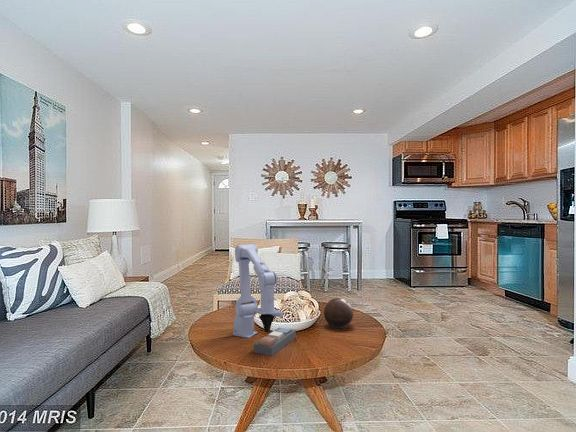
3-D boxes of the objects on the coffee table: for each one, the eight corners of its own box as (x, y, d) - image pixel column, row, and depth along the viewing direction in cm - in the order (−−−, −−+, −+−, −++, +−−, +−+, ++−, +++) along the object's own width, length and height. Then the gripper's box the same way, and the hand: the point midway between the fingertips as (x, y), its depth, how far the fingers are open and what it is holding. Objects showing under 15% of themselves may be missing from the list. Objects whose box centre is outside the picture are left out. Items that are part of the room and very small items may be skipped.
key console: (253, 352, 148) (253, 344, 148) (279, 334, 169) (279, 327, 169) (271, 356, 144) (271, 347, 144) (295, 337, 165) (295, 330, 165)
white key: (268, 340, 155) (268, 334, 155) (273, 336, 160) (273, 331, 160) (278, 341, 153) (278, 336, 153) (283, 338, 158) (283, 332, 157)
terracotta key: (259, 346, 148) (259, 340, 148) (265, 342, 153) (265, 336, 152) (269, 348, 146) (269, 342, 146) (275, 344, 150) (275, 338, 150)
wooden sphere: (355, 332, 172) (355, 302, 172) (325, 332, 173) (325, 302, 172) (350, 322, 187) (350, 295, 187) (322, 322, 188) (322, 295, 187)
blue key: (276, 336, 162) (276, 330, 162) (281, 332, 167) (281, 327, 167) (286, 338, 160) (286, 332, 160) (291, 334, 165) (291, 329, 165)
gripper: (248, 300, 149) (248, 331, 149) (277, 304, 142) (277, 337, 142) (256, 296, 155) (256, 326, 155) (285, 300, 149) (285, 331, 149)
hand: (267, 331), depth 149 cm, fingers closed
